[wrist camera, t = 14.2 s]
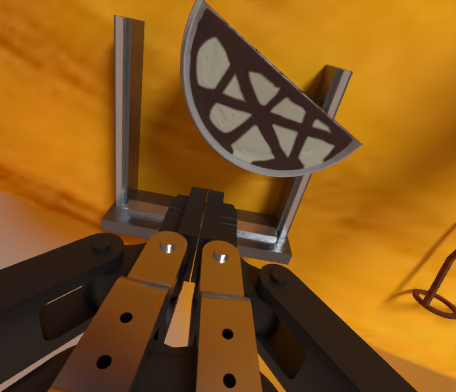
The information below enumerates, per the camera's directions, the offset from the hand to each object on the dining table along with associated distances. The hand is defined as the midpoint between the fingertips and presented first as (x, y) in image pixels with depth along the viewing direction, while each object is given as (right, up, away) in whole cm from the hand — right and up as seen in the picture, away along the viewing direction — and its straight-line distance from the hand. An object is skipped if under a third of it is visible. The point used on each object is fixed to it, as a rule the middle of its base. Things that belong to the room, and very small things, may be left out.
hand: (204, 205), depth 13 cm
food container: (+3, +10, +11) cm, 15 cm away
